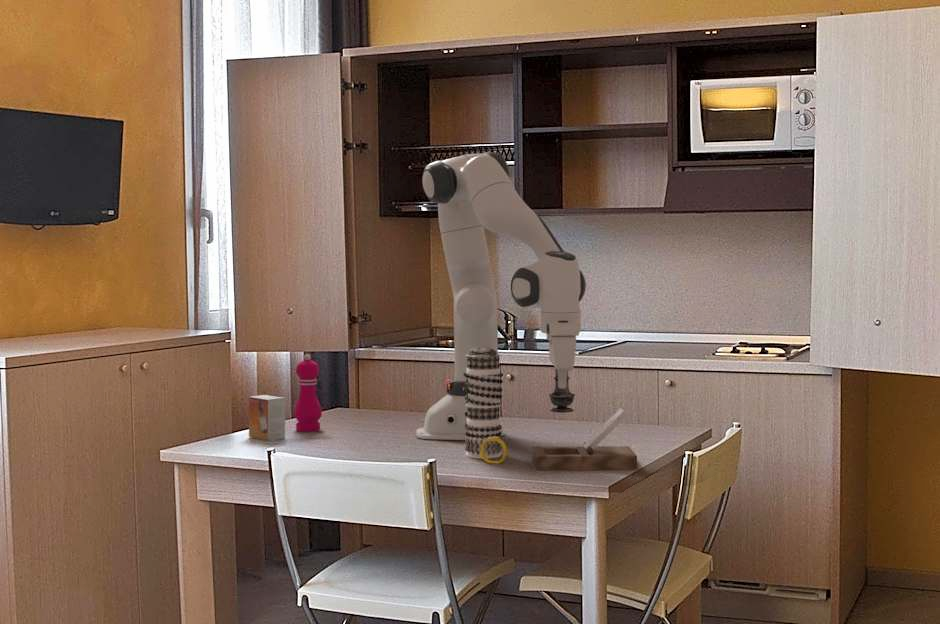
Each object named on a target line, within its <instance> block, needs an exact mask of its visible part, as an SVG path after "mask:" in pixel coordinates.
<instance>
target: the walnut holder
mask: <svg viewBox="0 0 940 624" xmlns="http://www.w3.org/2000/svg"><path fill="white" fill-rule="evenodd" d="M586 442H587V441H584V442H583V444H582V445H581V446H580V445H579V446H532V462H533V464H534V466H535V469H536V471H593V470H594V471H606V470H608V471H610V470H612V471H621V470H622V471H623V470H624V471H628V470H630V471H632V470H635V471H637V470H638V455H637V454H636V453H635V452H634V451H633V449H632V448H631V447H630V446H628V445H626V446H625V445H623V446H622V445H621V446H620V445H619V446H618V445H617V446H616V445H613V446H612V445H611V446H610V445H609V446H608V445H607V446H604V445H603V446H599V445H597V446H596V447H595V448H594V449H592V448H588V449H587V450H586V449H585V448H584V446H583V445H584V444H585V443H586Z"/></svg>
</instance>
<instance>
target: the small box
mask: <svg viewBox="0 0 940 624" xmlns="http://www.w3.org/2000/svg"><path fill="white" fill-rule="evenodd" d="M248 437H249V438H254V439H259V440H261V441H266V442H271V441H276V440H277V441H278V440H283V439H286V398H285V397H283V396H281V397H280V396H274V395H269V394H268V395H267V394H261V395H260V394H259V395H252V396H248Z"/></svg>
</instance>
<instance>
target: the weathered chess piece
mask: <svg viewBox="0 0 940 624" xmlns="http://www.w3.org/2000/svg"><path fill="white" fill-rule="evenodd" d="M555 369H556V368H555V367H554V370H555ZM553 379H554V383H555V384H554V385H555V386H554V391H552V392H551V393H549V394H548V396H549V397H550V398H549V400H550V401H551V404H552V405H553V406H555V407H552V408H551V409H550V412H552V413H561V414H562V413H571V412H573V413H574V412H575V409H573V408H572V407H569V406H571V405H572V404H573V403H574V399H575V396H576V395H575V393H573V392H571V391H570V388H569V383H570V382H569V379H571V378H570V377H569V371H567V380H566V388H559V387H558V373H557V369H556V375H555V377H553Z"/></svg>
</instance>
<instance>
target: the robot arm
mask: <svg viewBox="0 0 940 624" xmlns="http://www.w3.org/2000/svg"><path fill="white" fill-rule="evenodd" d="M508 166H509V165H508V163H507V160H506V159H505V158H504V156H502V155H501V153H498V152H491V151H485V152H483V153H468V154H461V155H460V156H455V157H450V158H447V159H444V160H436V161H433V162H431V163H429V164H427V165H426V166H425V167H424V170H423V172H422V178H421V181H422V188H423V191H424V194H425V196H426V198H427V199H428V200H429V201H430V202H432V203H433V204H437V209H438V210H437V213H438V215H437V216H438V225H439V231H440V236H441V243H442V247H443V253H444V257H445V263H446V268H447V272H448V276H449V277H448V278H449V281H450V287H451V291H452V292H451V293H452V295H453V334H454V336H453V337H454V338H453V340H454V341H453V342H454V344H453V345H454V379H452V380H451V379H446V381H445V383H444V386H445V387H446V395H444V396H443V397H442V398H440V399H439V400H438V401H437V402H436V403H434V404H433V405H432V406H431V407H430V408H428V410H427V412H426V414H425V418H424V423H423V425H424V426H422V427H419V428H417V429H416V431H415V435H416V437H417V438H419V439H423V440H446V441H447V440H450V441H453V440H454V441H465V440H466V439H467V438H468V436H466V435H465V433H466V432H467V431H468V430H467V429H466V428H465V427H466V425H467V417H468V412H467V411H468V407H467V406H466V403H465V402H467V400H465V395H467V394H468V393H467V392H466V391H464V387H466V385H465V384H464V380H466V379H467V378H466V377H465V376H464V375H463V374H464V373H466V374H467V356H466V355H467V354H468V353H469V352H470V350H471V349H473V348H494V349H495V350H496V352H497V353H498V354H499V351H498V345H499V343H498V337H499V336H498V331H499V330H498V327H499V325H498V324H499V323H498V322H499V315H498V314H499V310H498V309H499V308H498V307H499V306H498V304H499V303H498V296H497V292H496V287H495V280H494V276H493V270H492V265H491V258H490V253H489V249H488V244H487V237H486V232H485V229H486V230H488V231H489V232H492V233H494V234H498V235H501V236H505V237H508V238H512V239H514V240H518V241H520V242H521V243H523V244H526V246H528V247H529V248H531V250H532V251H533V252H534V254H535V256H536V257H537V259H538V260H537V261H535V262H533V263H531V264H528V265H526V266H524V267H519V268H518V269H517V270H516V271H515V272H514V274H513V275H512V277H511V281H510V282H511V283H510V293H511V296H512V298H513V299H512V300H514V302H515V303H516V304H517V305H518V306H519V307H521V308H526V309H540V332H541V333H542V334H546V340H547V341H549V344H548V351H549V352H548V353H549V355H548V356H549V358H548V359H549V361H550V362H551V364H552V365H553V366H554V373H555V376H556V369H557V373H558V387H559V388H566V380H567V371H568V372H571V371H573V370H574V367H575V358H576V348H577V337H578V336H579V335H580V333H581V327H582V326H581V325H582V324H581V318H582V317H581V315H582V313H581V306H580V303H581V301H582V300H583V298H584V296H585V293H586V289H587V282H586V277H585V275H584V274H583V272H582V271H581V269H580V265H579V261H578V258H577V256H575V255H574V254H573V253H570V252H567V251H564V249H563V248H562V247H561V244H560V243H559V242H558V240H557V238H556V237H555V236H554V234H553V232H552V231H551V230H550V228H549V227H548V225H547V224H546V223H545V221H544V220H543V218H541V216H540V215H539V214H537V213H536V212H535V211H534V210H532V208H530V207H529V206H528V204H527V203H526V202H525V201H524V200H523V198H521V196H520V195H519V193H518V192H517V190H516V188H515V186H514V184H513V182H512V180H511V179H510V172H509V171H510V170H509V167H508ZM555 368H556V369H555ZM467 383H468V382H467ZM499 388H501V384H500V383H499ZM499 394H500V395H501V392H499ZM500 414H501V413H500V412H499V417H500V425H501V426H502V428H501V429H500V430H499V431H500V432H501V433H502V435H501V436H500V437H502V436H504V435H505V432H504V428H503V425H502V424H503V423H502V420H501V419H502V418H501V415H500Z"/></svg>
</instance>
